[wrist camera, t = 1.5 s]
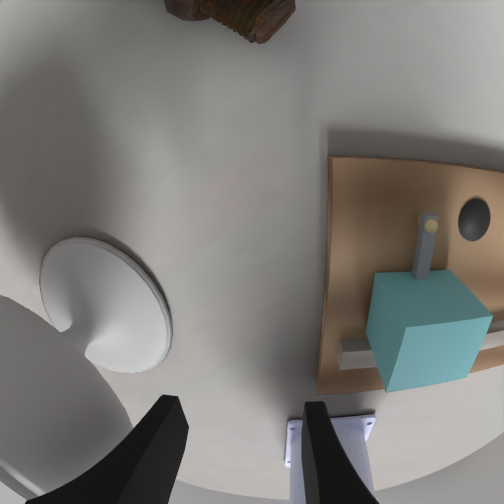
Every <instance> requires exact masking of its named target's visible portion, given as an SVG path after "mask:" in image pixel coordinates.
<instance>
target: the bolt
mask: <svg viewBox="0 0 504 504" xmlns="http://www.w3.org/2000/svg"><path fill="white" fill-rule="evenodd" d="M164 3H165V6H166V9H167V12H168V13H170V14H172V15H174V16H176V17H178V18H180V19H181V20H186V21H201V20H205V19H208V18H210V17H212V18H213V19H215V20H217V21H218V22H222V24H223V25H227V27H228V28H230V29H233V31H234V32H238V33H239V35H240V36H242V35H243V37H244V39H249V41H250V42H251V43H253V42H257V43H258V44H260V43H265V42H267V41H268V40H269V39H270V38H271V37H272V35H273V34H274V33H276V32H277V31H278V30H279V29H280V28H281V27H282V26H283V25H284V23H285V22H286V21H287V20H288V18H289V17H290V16H291V15H292V14H293V12H294V11H295V9H296V7H295V0H164Z"/></svg>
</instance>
